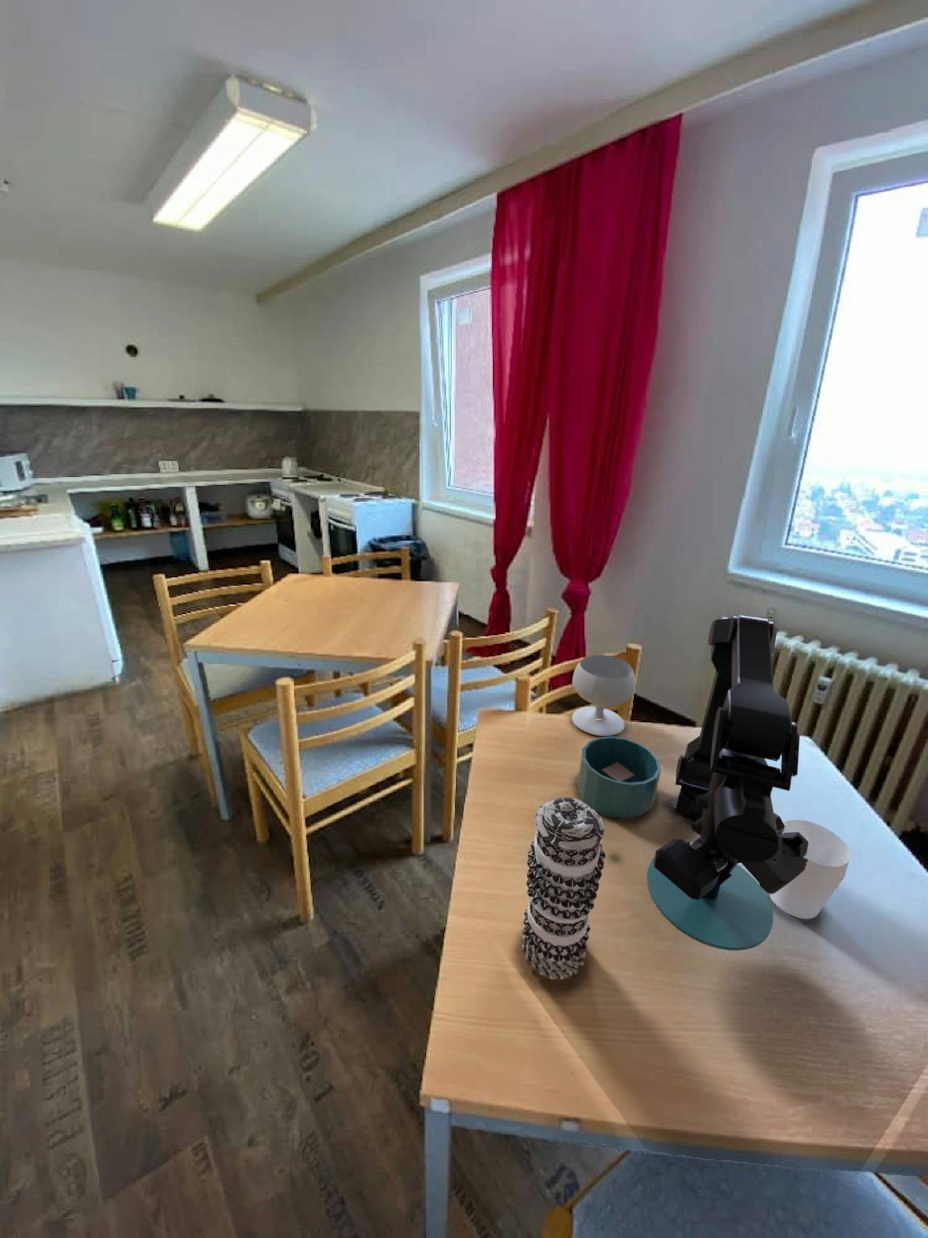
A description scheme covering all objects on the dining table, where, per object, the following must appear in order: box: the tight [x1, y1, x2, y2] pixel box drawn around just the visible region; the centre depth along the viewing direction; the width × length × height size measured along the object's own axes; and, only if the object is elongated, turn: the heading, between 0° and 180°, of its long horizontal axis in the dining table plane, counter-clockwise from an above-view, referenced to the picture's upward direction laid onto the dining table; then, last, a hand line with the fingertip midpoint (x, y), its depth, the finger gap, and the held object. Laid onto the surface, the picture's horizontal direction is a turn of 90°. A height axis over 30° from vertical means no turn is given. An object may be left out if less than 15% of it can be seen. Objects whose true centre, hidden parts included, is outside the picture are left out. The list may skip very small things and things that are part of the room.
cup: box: [768, 819, 851, 920], centre depth 77 cm, size 9×9×12 cm
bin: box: [577, 735, 662, 820], centre depth 99 cm, size 14×14×8 cm
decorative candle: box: [521, 796, 606, 981], centre depth 66 cm, size 9×9×25 cm
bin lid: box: [646, 856, 774, 952], centre depth 67 cm, size 15×15×6 cm
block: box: [601, 762, 635, 783], centre depth 100 cm, size 4×4×4 cm
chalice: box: [571, 654, 636, 737], centre depth 120 cm, size 14×14×15 cm
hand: (707, 891), depth 68 cm, fingers closed on bin lid, 2 cm apart
